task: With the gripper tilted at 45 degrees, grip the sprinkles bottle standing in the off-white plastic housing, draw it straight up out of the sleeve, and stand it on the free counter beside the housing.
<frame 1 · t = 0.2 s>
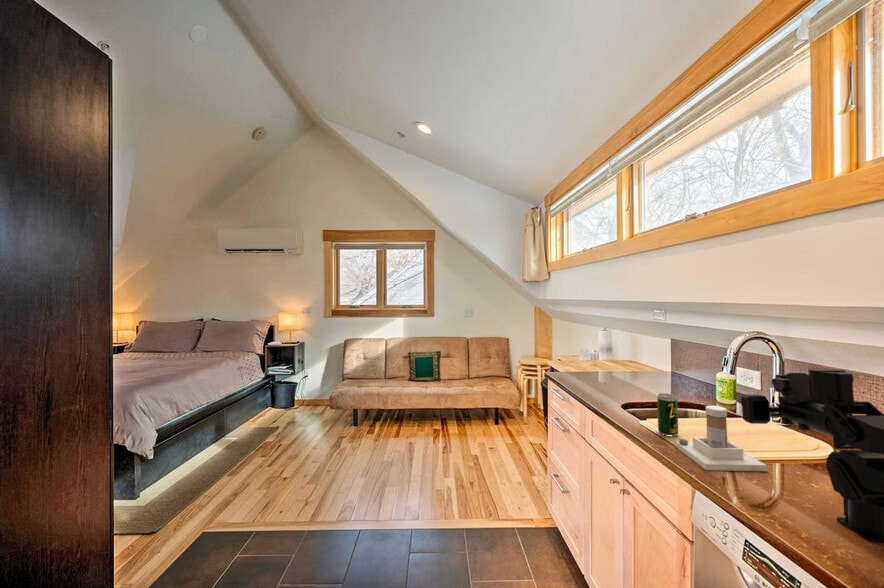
hand: (759, 400, 92), 17 cm above the counter, tool horizontal, fingers open, 9 cm apart
beer can: (668, 434, 115), on the counter
sprinkles bottle: (717, 458, 98), resting in housing
housing: (717, 458, 98), on the counter
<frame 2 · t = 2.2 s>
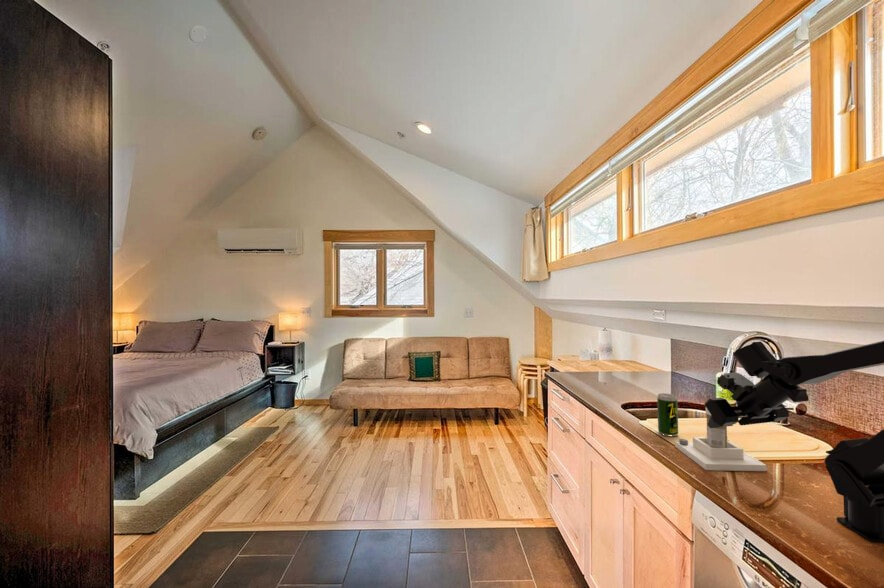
hand: (724, 425, 95), 10 cm above the counter, tool tilted 45°, fingers open, 9 cm apart
nothing on the counter moved.
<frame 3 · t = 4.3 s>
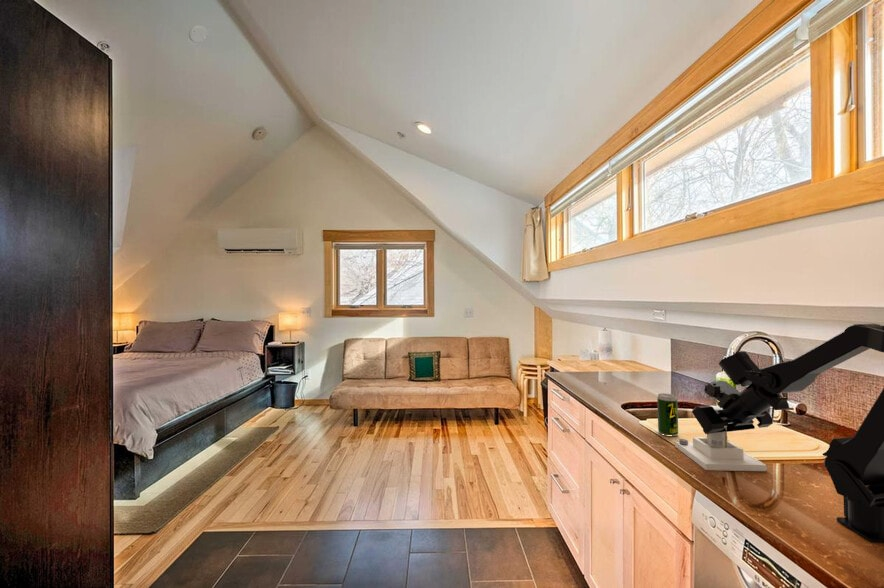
hand: (712, 431, 99), 7 cm above the counter, tool tilted 45°, fingers closed on sprinkles bottle, 4 cm apart
sprinkles bottle: (717, 458, 98), resting in housing, touching gripper
everything else where it was.
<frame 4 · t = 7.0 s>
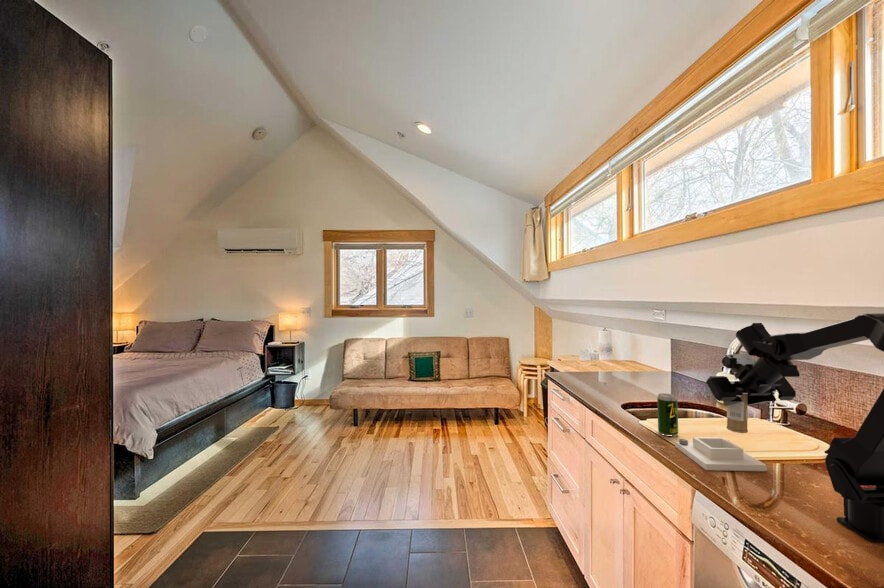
hand: (733, 404, 100), 13 cm above the counter, tool tilted 45°, fingers closed on sprinkles bottle, 4 cm apart
sprinkles bottle: (736, 431, 99), point 6 cm above the counter, touching gripper
everything else where it was.
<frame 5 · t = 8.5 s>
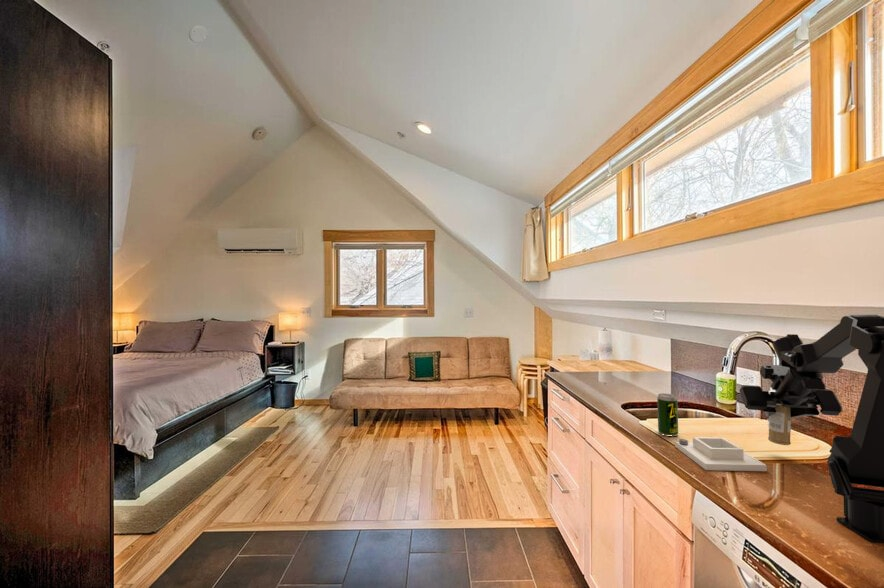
hand: (777, 415, 99), 10 cm above the counter, tool tilted 45°, fingers closed on sprinkles bottle, 4 cm apart
sprinkles bottle: (779, 443, 98), point 3 cm above the counter, touching gripper
everything else where it was.
when the fingers open (8 cm above the counter, at t = 9.8 s): sprinkles bottle drops 1 cm, on the counter.
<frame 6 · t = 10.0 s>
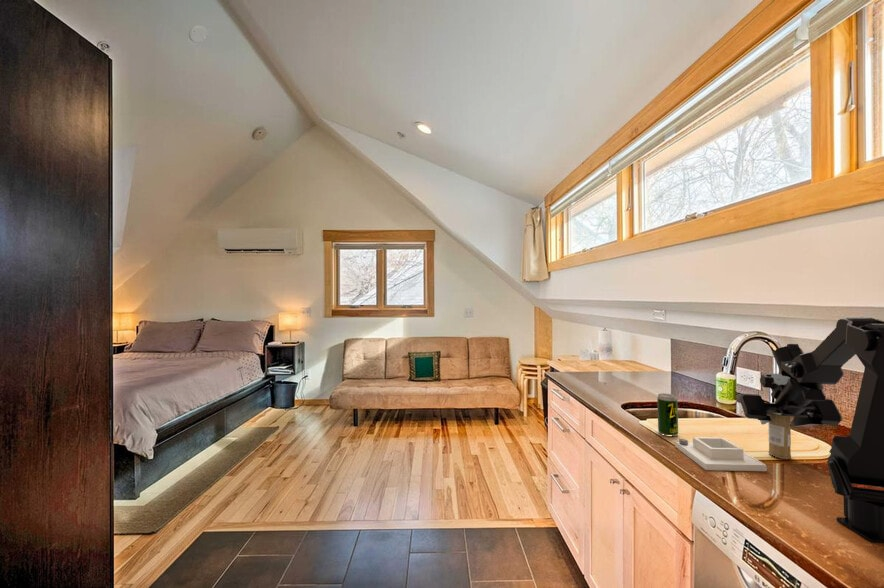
hand: (776, 423, 99), 8 cm above the counter, tool tilted 45°, fingers open, 6 cm apart
sprinkles bottle: (779, 456, 98), on the counter
everything else where it was.
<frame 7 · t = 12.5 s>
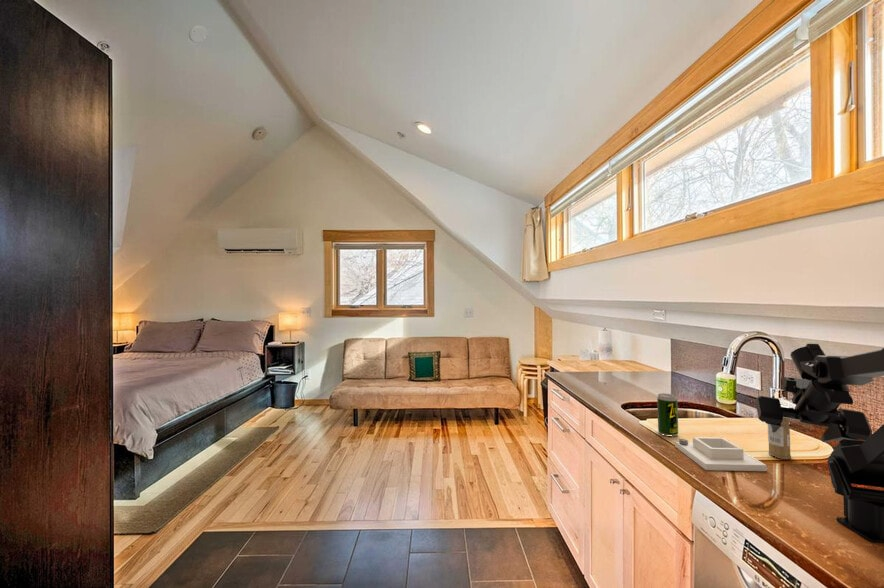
hand: (797, 435, 90), 9 cm above the counter, tool tilted 40°, fingers open, 9 cm apart
nothing on the counter moved.
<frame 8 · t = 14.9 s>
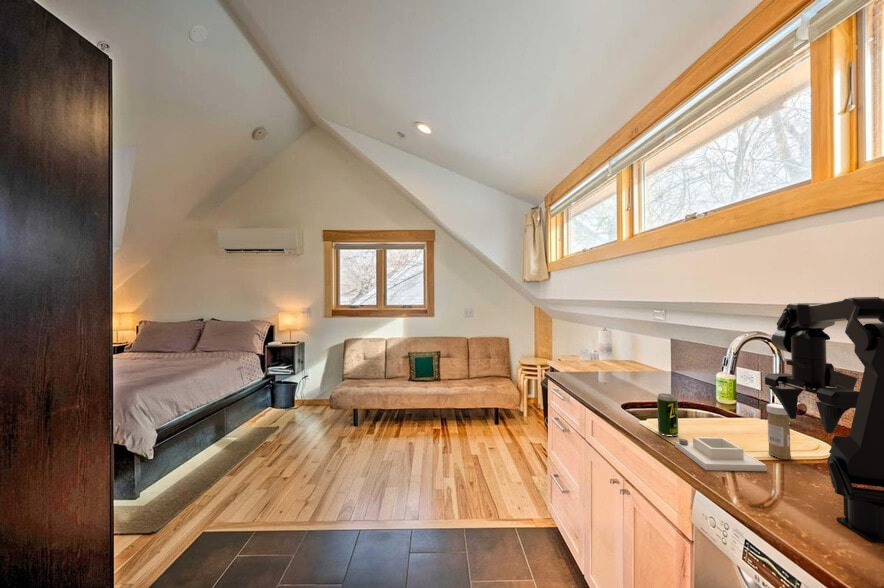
hand: (810, 425, 85), 13 cm above the counter, tool pointing down, fingers open, 9 cm apart
nothing on the counter moved.
at the end: sprinkles bottle inside the target area (0.3 cm from its centre), on the counter; sprinkles bottle tilted 0°; the gripper is holding nothing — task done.
